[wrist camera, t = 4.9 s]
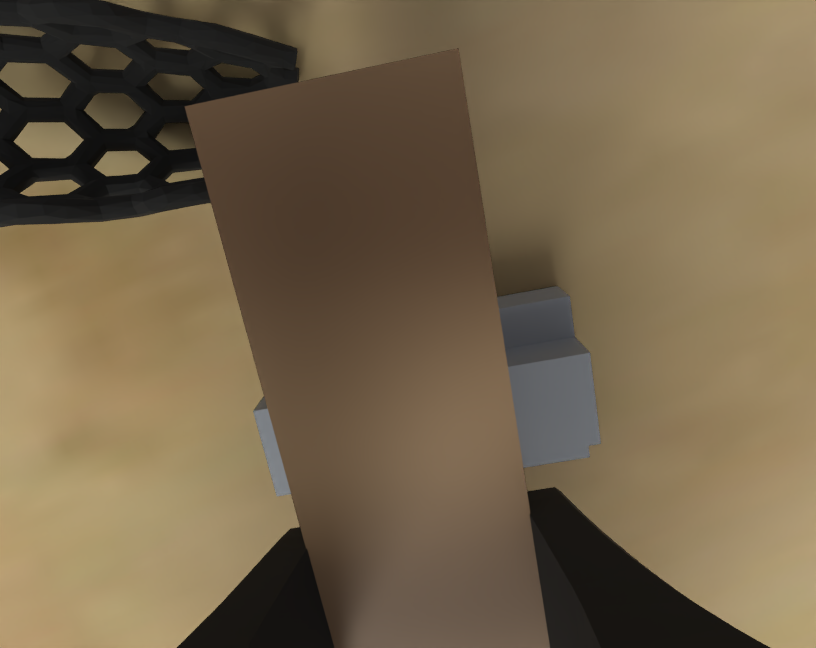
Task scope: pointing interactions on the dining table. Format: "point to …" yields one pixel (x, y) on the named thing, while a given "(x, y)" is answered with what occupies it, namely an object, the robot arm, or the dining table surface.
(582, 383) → the fulcrum
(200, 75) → the decorative element
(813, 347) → the dining table surface
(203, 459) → the dining table surface
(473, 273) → the beam
